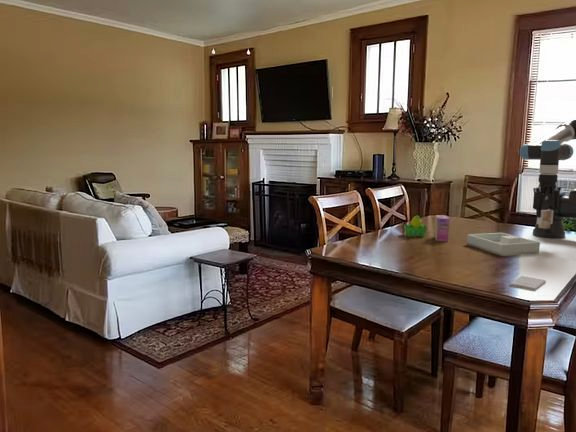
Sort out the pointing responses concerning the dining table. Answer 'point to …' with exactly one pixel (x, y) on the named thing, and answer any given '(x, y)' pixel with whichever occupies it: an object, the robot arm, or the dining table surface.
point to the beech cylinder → (546, 219)
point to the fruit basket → (415, 228)
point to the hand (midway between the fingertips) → (544, 223)
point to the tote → (493, 245)
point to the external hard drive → (527, 283)
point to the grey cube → (509, 240)
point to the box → (441, 228)
